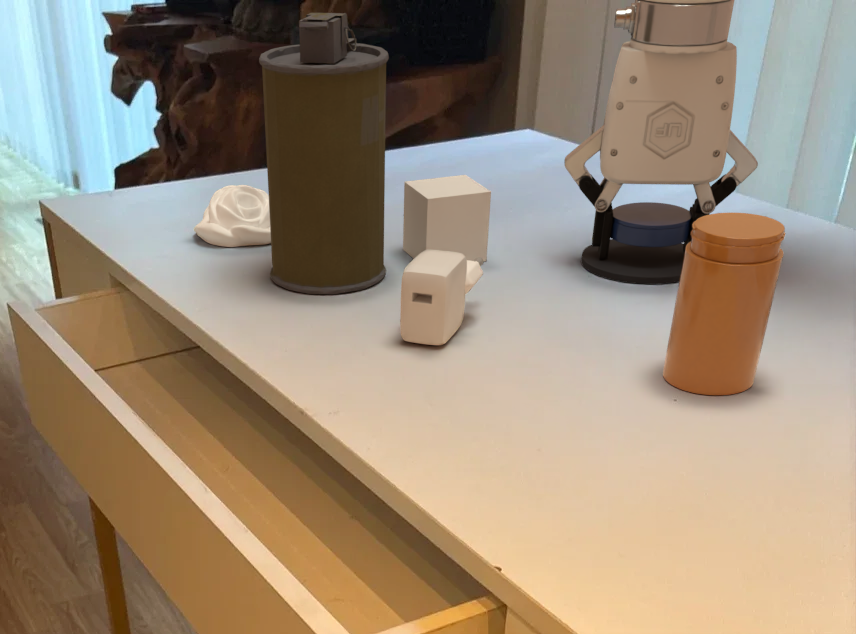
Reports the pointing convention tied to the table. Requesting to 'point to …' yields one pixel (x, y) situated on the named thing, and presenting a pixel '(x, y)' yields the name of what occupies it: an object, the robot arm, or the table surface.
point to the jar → (723, 303)
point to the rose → (236, 217)
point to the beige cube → (446, 216)
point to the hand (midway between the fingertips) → (645, 254)
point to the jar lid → (650, 224)
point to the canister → (326, 158)
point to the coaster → (636, 263)
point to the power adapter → (436, 295)
